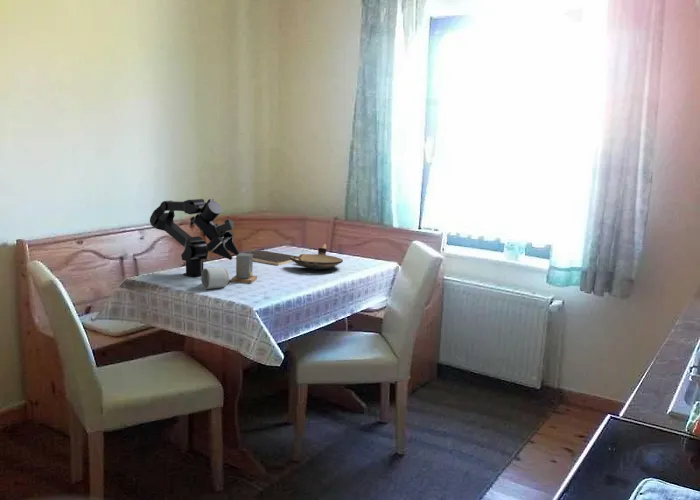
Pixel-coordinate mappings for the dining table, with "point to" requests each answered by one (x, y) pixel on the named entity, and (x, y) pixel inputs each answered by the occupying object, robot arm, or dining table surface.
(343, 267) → the dining table surface
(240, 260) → the grey cardboard box
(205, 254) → the robot arm
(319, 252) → the oil lamp
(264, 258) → the hardcover book
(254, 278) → the post base
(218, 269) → the ceramic mug
